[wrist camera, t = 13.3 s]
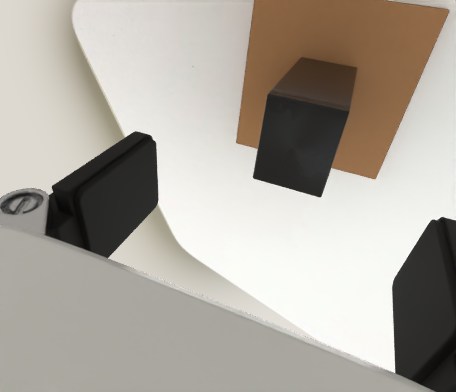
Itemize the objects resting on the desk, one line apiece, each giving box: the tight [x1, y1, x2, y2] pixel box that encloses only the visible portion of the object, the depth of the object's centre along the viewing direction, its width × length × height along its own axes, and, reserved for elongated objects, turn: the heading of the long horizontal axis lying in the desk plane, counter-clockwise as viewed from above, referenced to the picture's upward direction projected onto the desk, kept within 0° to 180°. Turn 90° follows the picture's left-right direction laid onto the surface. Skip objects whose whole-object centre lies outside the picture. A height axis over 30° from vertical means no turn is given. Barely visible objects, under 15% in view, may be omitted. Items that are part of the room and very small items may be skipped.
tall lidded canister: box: [253, 57, 357, 197], centre depth 21 cm, size 5×4×10 cm
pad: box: [236, 0, 449, 179], centre depth 24 cm, size 12×12×1 cm
